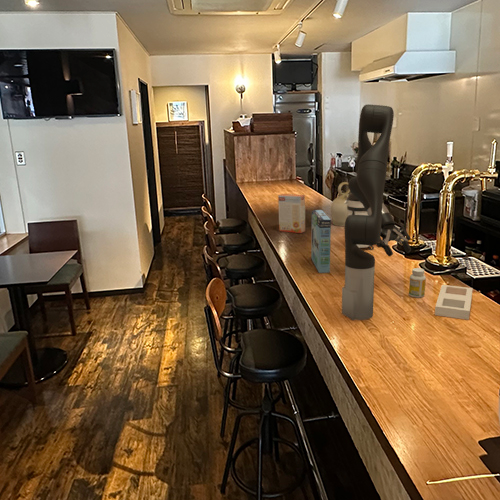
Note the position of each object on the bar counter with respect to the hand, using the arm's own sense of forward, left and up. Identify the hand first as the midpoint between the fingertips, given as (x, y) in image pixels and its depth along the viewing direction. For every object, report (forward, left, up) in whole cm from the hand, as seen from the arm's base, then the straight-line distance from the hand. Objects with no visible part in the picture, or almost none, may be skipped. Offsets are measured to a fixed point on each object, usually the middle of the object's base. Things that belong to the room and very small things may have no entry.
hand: (400, 253), depth 170 cm
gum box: (-11, +37, -13) cm, 41 cm away
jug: (+44, +95, -13) cm, 105 cm away
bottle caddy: (+4, -22, -13) cm, 26 cm away
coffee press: (+22, +50, -13) cm, 56 cm away
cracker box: (+10, +97, -13) cm, 98 cm away
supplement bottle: (0, -9, -13) cm, 16 cm away
